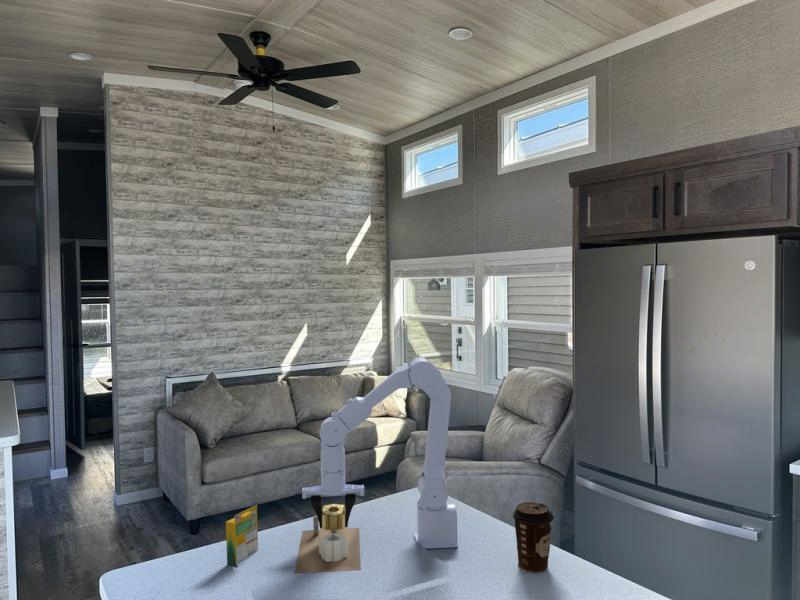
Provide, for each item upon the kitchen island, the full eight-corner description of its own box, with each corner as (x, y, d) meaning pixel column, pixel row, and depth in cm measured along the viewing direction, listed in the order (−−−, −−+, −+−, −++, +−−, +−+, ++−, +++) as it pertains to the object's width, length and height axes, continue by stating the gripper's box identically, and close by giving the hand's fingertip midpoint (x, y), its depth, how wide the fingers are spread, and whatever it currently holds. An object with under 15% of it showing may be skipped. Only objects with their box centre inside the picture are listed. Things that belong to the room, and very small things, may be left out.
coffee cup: (555, 561, 130) (555, 502, 130) (552, 578, 122) (552, 516, 122) (516, 555, 133) (515, 498, 133) (510, 572, 125) (510, 512, 125)
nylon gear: (340, 548, 136) (339, 531, 135) (348, 558, 131) (348, 540, 131) (318, 553, 133) (317, 536, 133) (326, 563, 128) (326, 545, 128)
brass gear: (345, 518, 142) (345, 503, 142) (345, 530, 137) (345, 514, 137) (323, 519, 142) (322, 504, 141) (322, 531, 137) (322, 515, 136)
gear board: (359, 531, 147) (358, 510, 147) (360, 574, 125) (360, 548, 125) (302, 534, 146) (302, 512, 146) (294, 577, 124) (294, 552, 124)
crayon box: (249, 551, 137) (248, 502, 137) (258, 554, 136) (258, 504, 135) (226, 565, 131) (225, 513, 130) (236, 567, 129) (235, 515, 129)
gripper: (363, 463, 143) (364, 518, 144) (303, 465, 142) (304, 521, 142) (364, 471, 136) (365, 530, 137) (300, 474, 135) (302, 533, 135)
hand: (334, 526), depth 139 cm, fingers closed on brass gear, 5 cm apart
